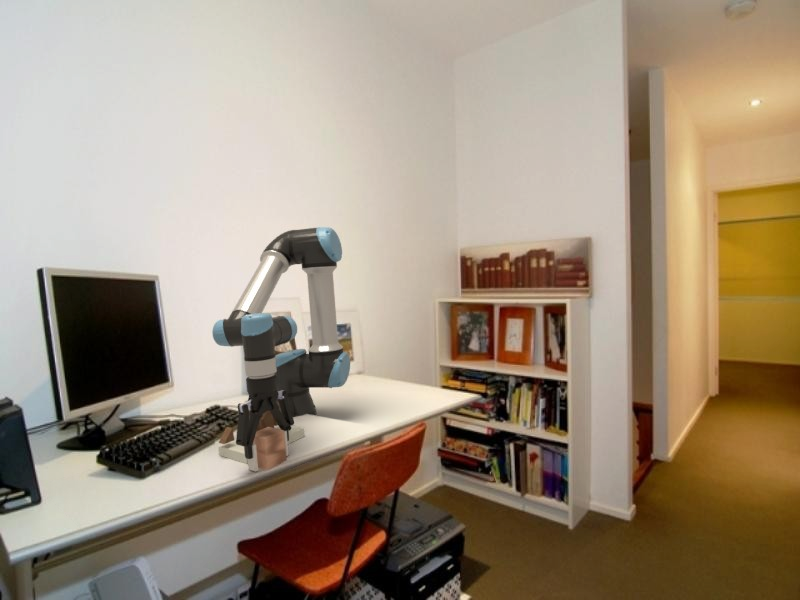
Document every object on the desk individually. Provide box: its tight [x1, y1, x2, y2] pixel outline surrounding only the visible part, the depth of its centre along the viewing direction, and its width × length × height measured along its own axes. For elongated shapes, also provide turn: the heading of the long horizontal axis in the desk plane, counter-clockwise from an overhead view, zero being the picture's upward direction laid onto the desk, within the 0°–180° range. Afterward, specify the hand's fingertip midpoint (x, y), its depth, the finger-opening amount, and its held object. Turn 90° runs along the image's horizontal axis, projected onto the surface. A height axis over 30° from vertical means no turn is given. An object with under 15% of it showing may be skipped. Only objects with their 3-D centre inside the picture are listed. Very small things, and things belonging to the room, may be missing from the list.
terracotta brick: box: [253, 427, 287, 471], centre depth 112 cm, size 6×6×8 cm
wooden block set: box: [218, 402, 282, 445], centre depth 122 cm, size 18×9×10 cm, turn 141°
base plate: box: [217, 425, 306, 464], centre depth 124 cm, size 20×12×2 cm, turn 146°
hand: (269, 462), depth 112 cm, fingers open, 9 cm apart
